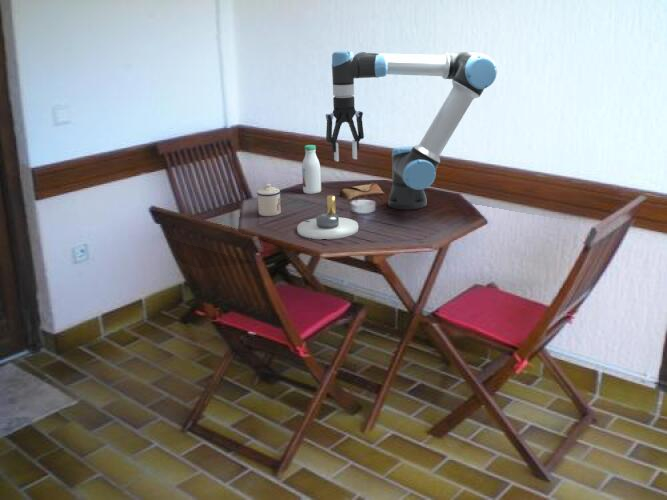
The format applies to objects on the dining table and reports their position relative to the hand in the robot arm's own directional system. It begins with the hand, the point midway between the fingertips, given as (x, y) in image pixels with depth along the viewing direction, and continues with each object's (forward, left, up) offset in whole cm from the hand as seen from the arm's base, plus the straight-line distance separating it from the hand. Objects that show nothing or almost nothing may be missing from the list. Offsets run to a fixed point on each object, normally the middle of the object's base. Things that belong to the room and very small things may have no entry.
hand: (345, 159), depth 285 cm
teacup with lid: (+32, -8, -23) cm, 41 cm away
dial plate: (+5, +13, -23) cm, 27 cm away
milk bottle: (+21, -39, -23) cm, 50 cm away
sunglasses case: (-1, -35, -24) cm, 43 cm away
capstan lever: (+5, +10, -21) cm, 24 cm away
